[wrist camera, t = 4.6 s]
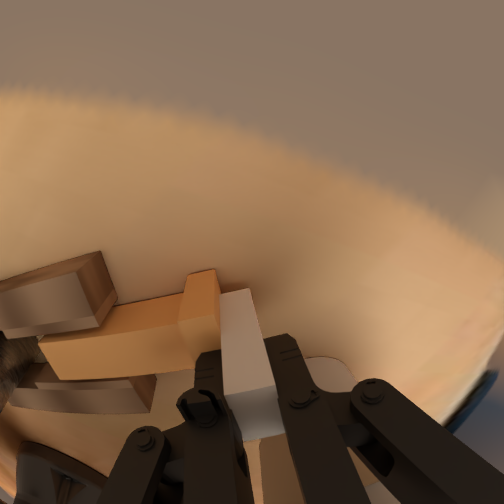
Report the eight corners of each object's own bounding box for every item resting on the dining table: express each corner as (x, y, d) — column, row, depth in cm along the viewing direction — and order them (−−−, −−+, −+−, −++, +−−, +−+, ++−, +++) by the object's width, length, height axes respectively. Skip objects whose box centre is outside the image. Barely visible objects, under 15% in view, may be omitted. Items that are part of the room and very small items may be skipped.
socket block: (25, 383, 15) (12, 405, 12) (-26, 290, 12) (-48, 307, 10) (156, 379, 16) (149, 412, 13) (100, 250, 13) (75, 271, 10)
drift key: (83, 361, 15) (60, 406, 11) (53, 304, 13) (17, 343, 9) (234, 338, 15) (240, 394, 11) (214, 268, 14) (213, 314, 10)
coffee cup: (215, 386, 17) (234, 611, 2) (338, 318, 16) (480, 534, 2) (279, 439, 20) (319, 589, 5) (375, 389, 19) (459, 530, 5)
